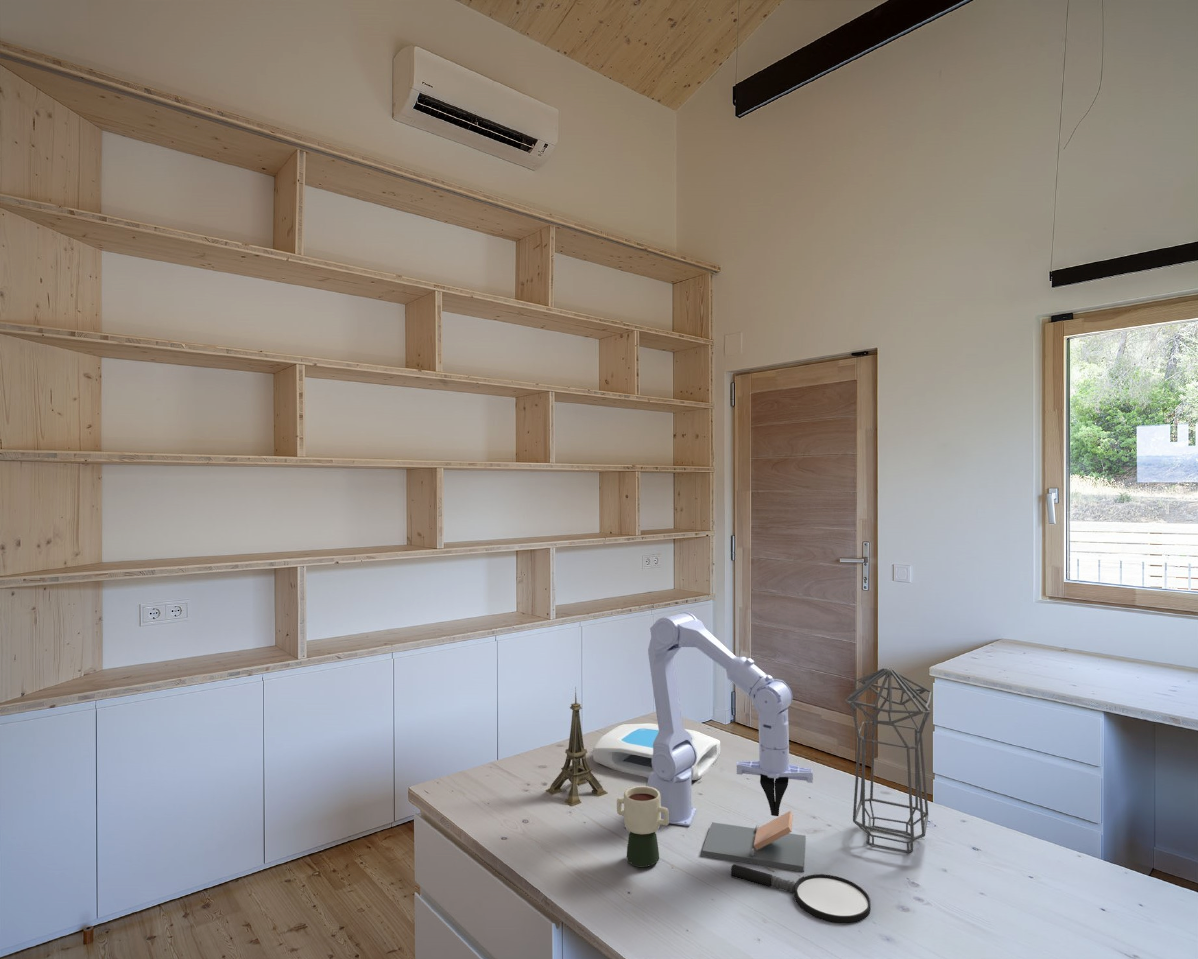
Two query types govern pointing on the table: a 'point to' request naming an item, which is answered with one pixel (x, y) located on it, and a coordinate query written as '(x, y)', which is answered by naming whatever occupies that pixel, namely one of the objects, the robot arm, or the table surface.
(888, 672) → the geometric lantern
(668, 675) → the robot arm
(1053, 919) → the table surface
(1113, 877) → the table surface
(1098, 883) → the table surface
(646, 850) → the character mug
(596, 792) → the eiffel tower
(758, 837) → the tile
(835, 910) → the magnifying glass
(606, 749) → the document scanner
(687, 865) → the table surface
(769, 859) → the mat
